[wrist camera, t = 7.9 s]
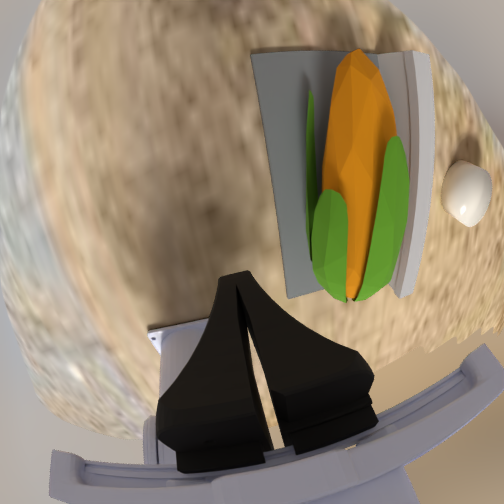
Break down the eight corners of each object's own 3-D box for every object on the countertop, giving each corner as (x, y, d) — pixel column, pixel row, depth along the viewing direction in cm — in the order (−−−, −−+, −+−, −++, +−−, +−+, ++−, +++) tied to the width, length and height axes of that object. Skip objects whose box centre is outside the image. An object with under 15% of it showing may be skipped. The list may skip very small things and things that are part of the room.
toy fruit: (330, 341, 19) (332, 29, 8) (294, 283, 26) (276, 52, 15) (403, 310, 20) (433, 54, 10) (359, 264, 27) (362, 58, 16)
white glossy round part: (468, 209, 26) (486, 220, 24) (436, 218, 26) (456, 232, 23) (474, 158, 23) (495, 168, 20) (442, 161, 22) (465, 171, 19)
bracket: (387, 266, 28) (412, 293, 24) (286, 296, 27) (302, 332, 23) (389, 56, 16) (429, 54, 12) (250, 55, 15) (267, 40, 11)
